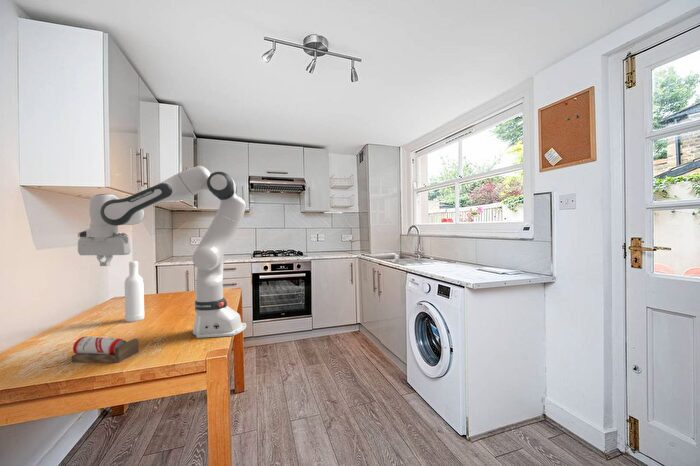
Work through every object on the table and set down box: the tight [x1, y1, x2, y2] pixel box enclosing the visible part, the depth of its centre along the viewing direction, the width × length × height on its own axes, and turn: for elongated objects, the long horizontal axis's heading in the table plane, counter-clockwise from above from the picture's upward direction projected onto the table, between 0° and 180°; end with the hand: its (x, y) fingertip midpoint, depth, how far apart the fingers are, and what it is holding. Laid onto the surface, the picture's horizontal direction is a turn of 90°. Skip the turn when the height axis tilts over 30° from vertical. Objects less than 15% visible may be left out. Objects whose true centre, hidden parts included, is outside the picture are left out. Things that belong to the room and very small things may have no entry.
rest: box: [70, 338, 140, 363], centre depth 102 cm, size 18×8×5 cm, turn 87°
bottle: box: [123, 260, 146, 323], centre depth 144 cm, size 8×8×30 cm
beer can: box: [72, 335, 127, 355], centre depth 102 cm, size 6×6×16 cm
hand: (105, 266), depth 118 cm, fingers closed
